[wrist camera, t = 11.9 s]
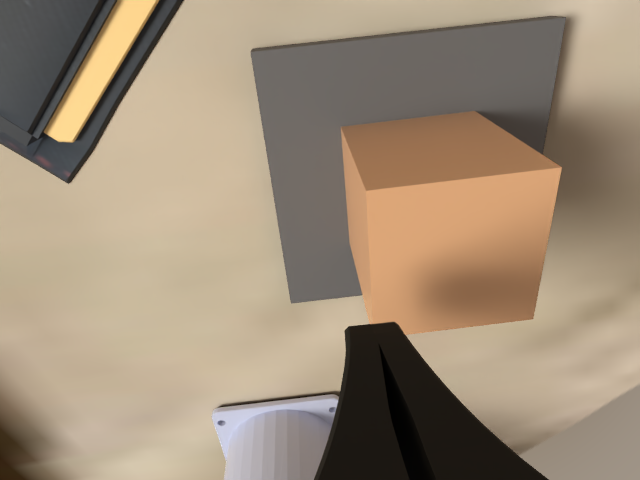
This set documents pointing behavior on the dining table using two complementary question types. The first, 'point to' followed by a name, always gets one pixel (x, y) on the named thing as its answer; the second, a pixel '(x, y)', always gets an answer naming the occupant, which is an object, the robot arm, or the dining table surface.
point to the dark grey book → (70, 72)
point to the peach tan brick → (447, 220)
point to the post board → (384, 118)
